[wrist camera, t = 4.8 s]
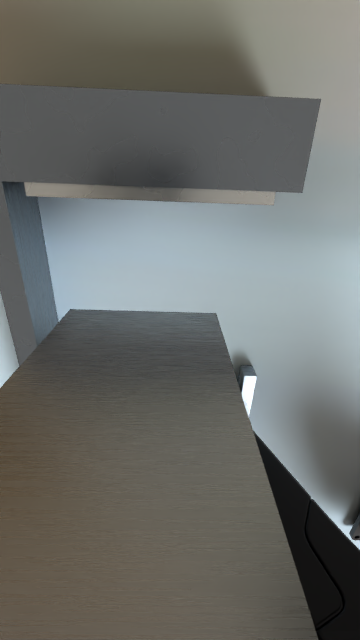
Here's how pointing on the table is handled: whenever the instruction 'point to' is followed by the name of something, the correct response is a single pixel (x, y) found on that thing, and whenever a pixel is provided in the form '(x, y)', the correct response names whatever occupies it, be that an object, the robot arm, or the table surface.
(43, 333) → the vise
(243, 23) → the table surface
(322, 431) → the table surface
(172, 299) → the table surface
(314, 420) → the table surface
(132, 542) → the block
